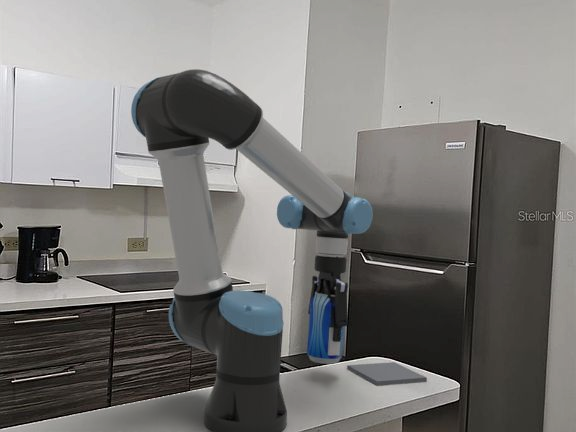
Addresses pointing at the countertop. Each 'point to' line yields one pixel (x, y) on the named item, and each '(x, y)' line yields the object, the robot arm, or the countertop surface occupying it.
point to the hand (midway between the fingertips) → (324, 350)
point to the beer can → (321, 330)
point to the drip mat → (386, 373)
